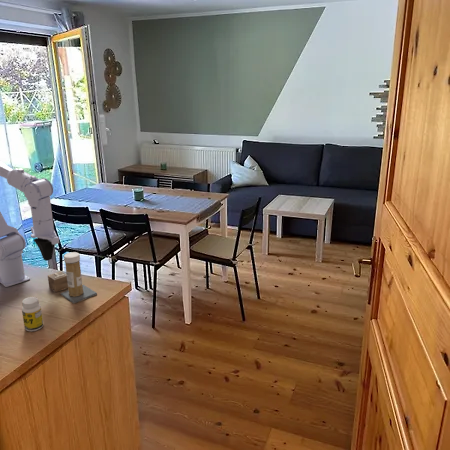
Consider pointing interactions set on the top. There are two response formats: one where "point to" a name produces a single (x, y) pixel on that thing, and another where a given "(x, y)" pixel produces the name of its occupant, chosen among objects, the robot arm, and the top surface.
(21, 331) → the top surface
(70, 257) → the sprinkles bottle
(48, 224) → the robot arm
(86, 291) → the grey mat
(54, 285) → the walnut block
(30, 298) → the supplement bottle
